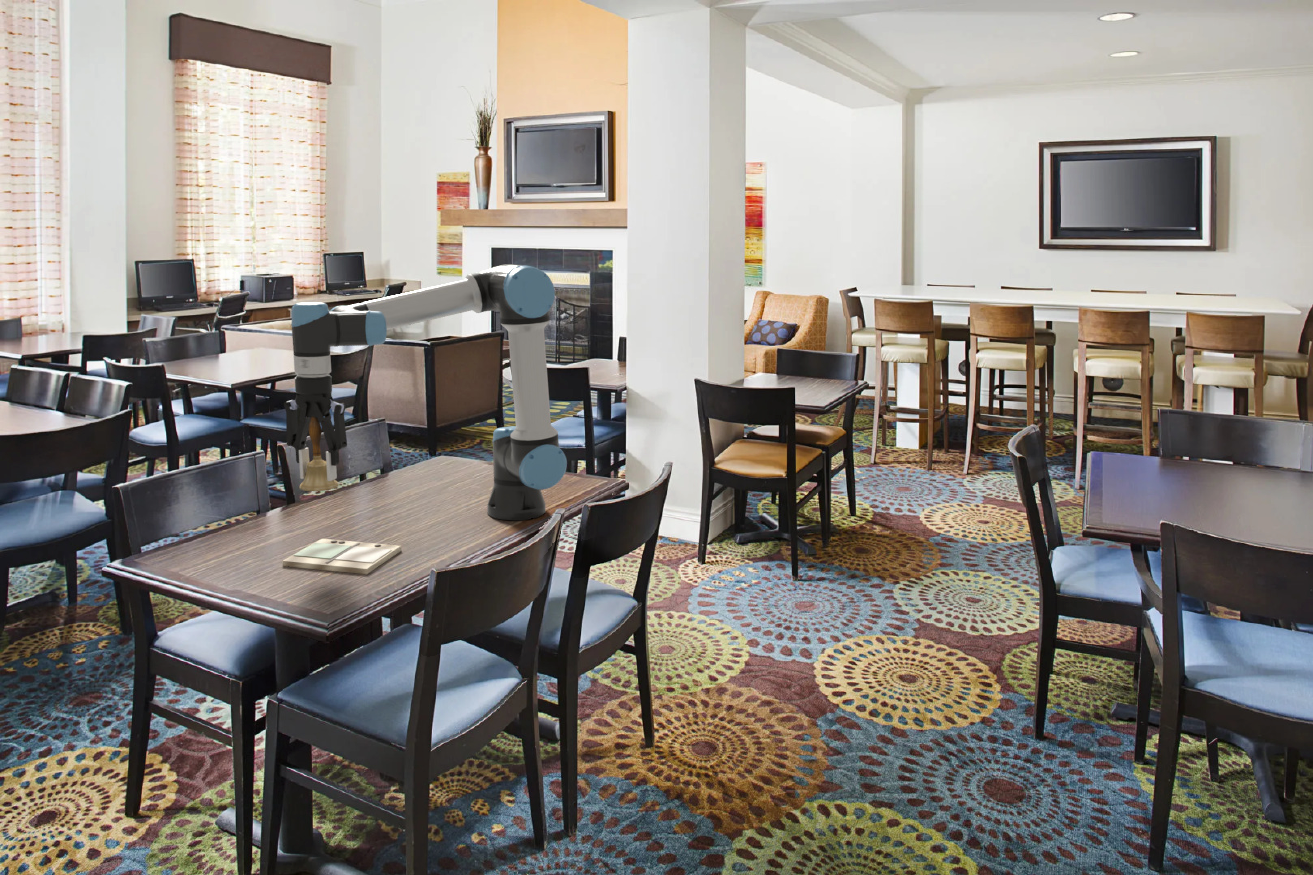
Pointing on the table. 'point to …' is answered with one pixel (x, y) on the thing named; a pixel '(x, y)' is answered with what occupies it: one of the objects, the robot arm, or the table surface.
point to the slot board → (342, 556)
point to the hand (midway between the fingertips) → (318, 478)
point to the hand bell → (316, 464)
